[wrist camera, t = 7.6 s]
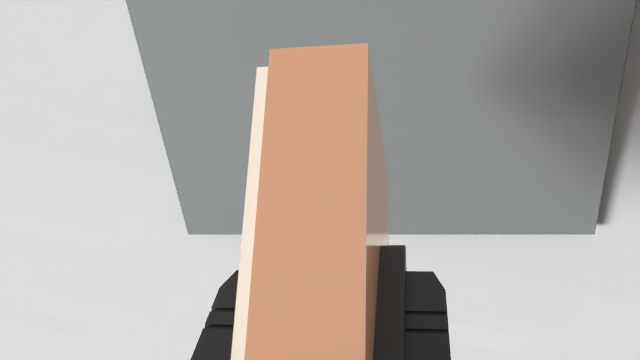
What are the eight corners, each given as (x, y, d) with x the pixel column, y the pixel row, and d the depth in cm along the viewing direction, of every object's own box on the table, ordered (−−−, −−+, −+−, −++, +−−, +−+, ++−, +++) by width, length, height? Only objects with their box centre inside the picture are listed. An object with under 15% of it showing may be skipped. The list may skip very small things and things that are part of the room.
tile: (368, 43, 9) (363, 562, 7) (387, 180, 15) (389, 492, 12) (254, 49, 9) (208, 548, 7) (316, 182, 15) (302, 487, 12)
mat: (650, -129, 16) (658, -127, 16) (590, 224, 22) (594, 234, 22) (114, -78, 19) (105, -75, 18) (192, 225, 25) (188, 234, 24)
